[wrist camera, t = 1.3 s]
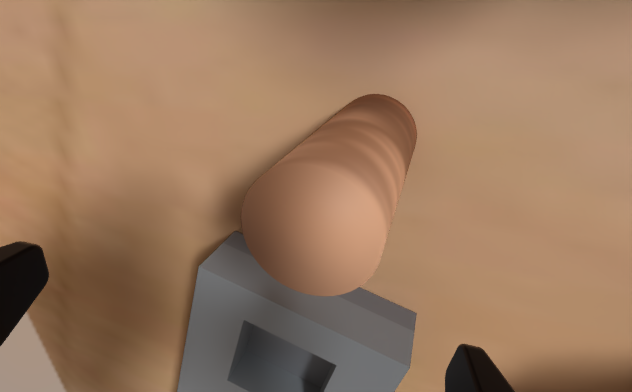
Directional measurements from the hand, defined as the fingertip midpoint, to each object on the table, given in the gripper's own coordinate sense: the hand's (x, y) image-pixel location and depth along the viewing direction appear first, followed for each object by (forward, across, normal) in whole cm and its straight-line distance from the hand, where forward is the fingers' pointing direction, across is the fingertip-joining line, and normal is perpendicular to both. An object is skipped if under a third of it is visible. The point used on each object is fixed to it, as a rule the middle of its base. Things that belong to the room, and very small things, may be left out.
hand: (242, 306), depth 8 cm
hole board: (+12, 0, +19) cm, 23 cm away
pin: (+13, -2, 0) cm, 13 cm away
